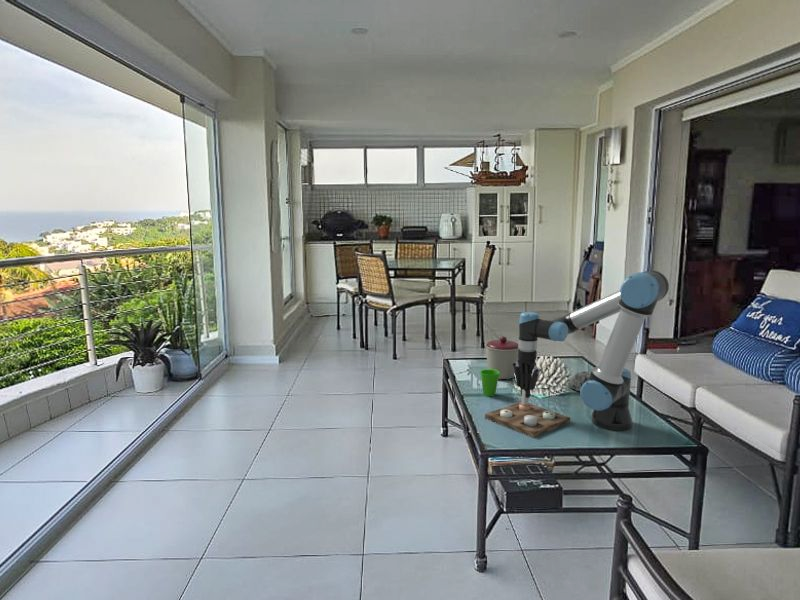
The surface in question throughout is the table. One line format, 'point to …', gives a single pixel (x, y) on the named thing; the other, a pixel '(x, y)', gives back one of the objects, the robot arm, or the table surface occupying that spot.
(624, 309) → the robot arm
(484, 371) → the cup
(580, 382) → the mineral rock
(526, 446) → the table surface
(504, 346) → the canister
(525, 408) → the button three
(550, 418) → the button two
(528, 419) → the button blank
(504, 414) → the button one
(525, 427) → the panel
